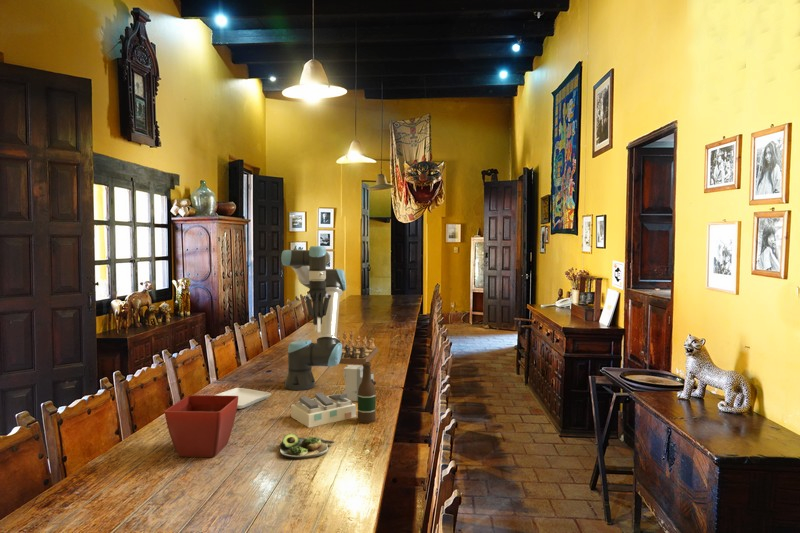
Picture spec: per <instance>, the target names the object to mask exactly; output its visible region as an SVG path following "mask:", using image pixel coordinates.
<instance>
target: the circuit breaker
mask: <svg viewBox="0 0 800 533" xmlns="http://www.w3.org/2000/svg"><path fill="white" fill-rule="evenodd" d="M342 375H343V376H342V377H343V378H344V389H343V390H342V391H343V392H342V394H347V398H346V399H348V400H351V401H352V402H358V388H359V385H360V384H361V382H362V378H363V366H362V365H361V364H347V365H346V366H344V368H343V372H342ZM371 381H372V383H373V384H374V386H375V385H376V384H377V381H375V378H374V373H371Z"/></svg>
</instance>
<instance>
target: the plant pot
mask: <svg viewBox="0 0 800 533" xmlns="http://www.w3.org/2000/svg"><path fill="white" fill-rule="evenodd" d="M237 405H238V396H218V395H216V394H214V395H211V394H210V395H208V394H207V395H202V394H201V395H195V394H194V395H191V394H190V395H187V396H185V397H184V398H182V399H181V400H179V401H178V402H176V403H175V404H173V405H172V406H169V407H168V408H167V409H165V410H164V417H165V421H166V425H167V428H168V433H169V436H170V439H171V442H172V444H173V446H174V449H175V451H176V453H177V455H178V457H181V458H182V457H186V458H187V457H193V458H196V457H197V458H214V457H216V456H218V454H219V453H220V452H221V451H222V450H223V449H224V448H225V447H226V446H227V444H228V443H229V441H230V437H231V434H232V431H233V428H234V423H235V420H236V415H237V410H238V409H237Z"/></svg>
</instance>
